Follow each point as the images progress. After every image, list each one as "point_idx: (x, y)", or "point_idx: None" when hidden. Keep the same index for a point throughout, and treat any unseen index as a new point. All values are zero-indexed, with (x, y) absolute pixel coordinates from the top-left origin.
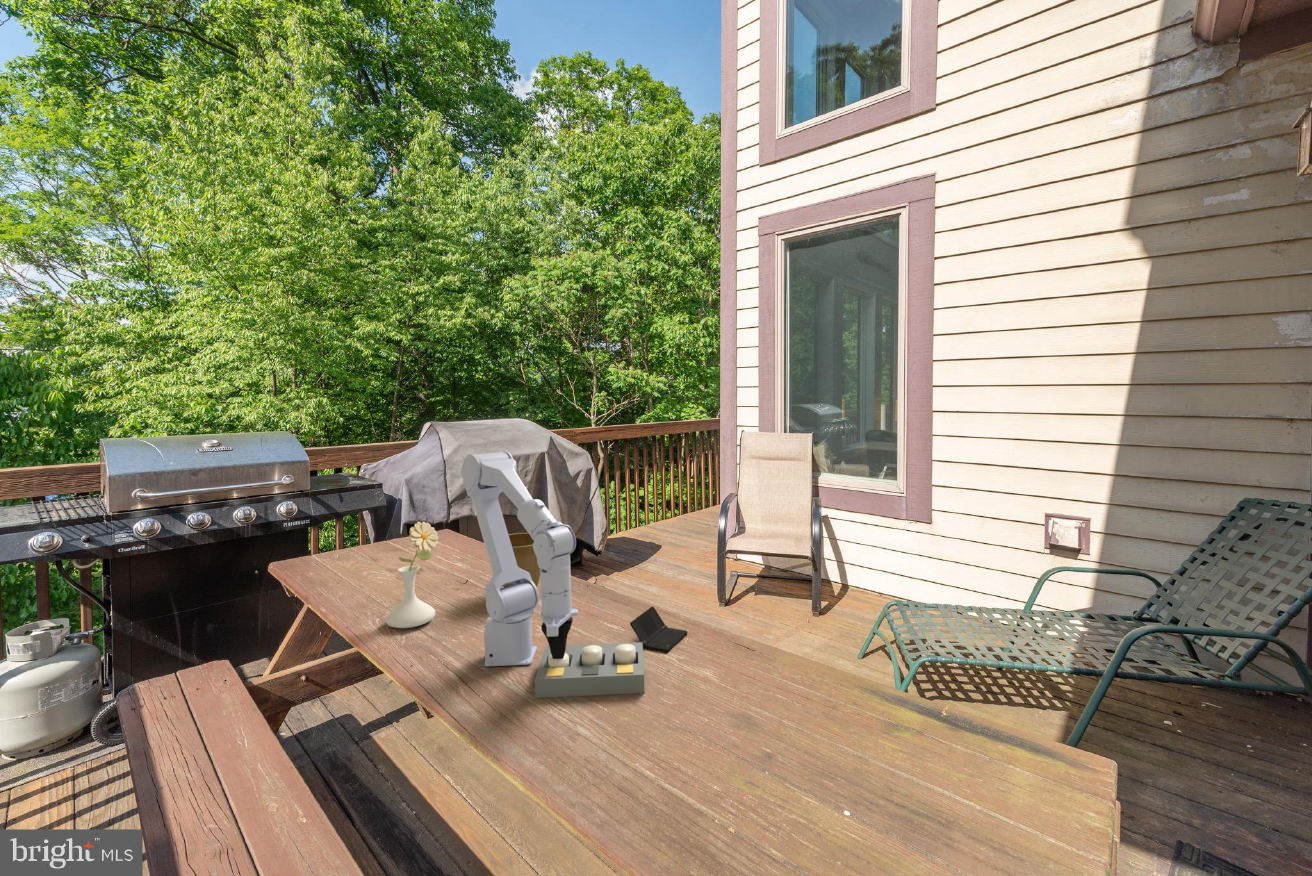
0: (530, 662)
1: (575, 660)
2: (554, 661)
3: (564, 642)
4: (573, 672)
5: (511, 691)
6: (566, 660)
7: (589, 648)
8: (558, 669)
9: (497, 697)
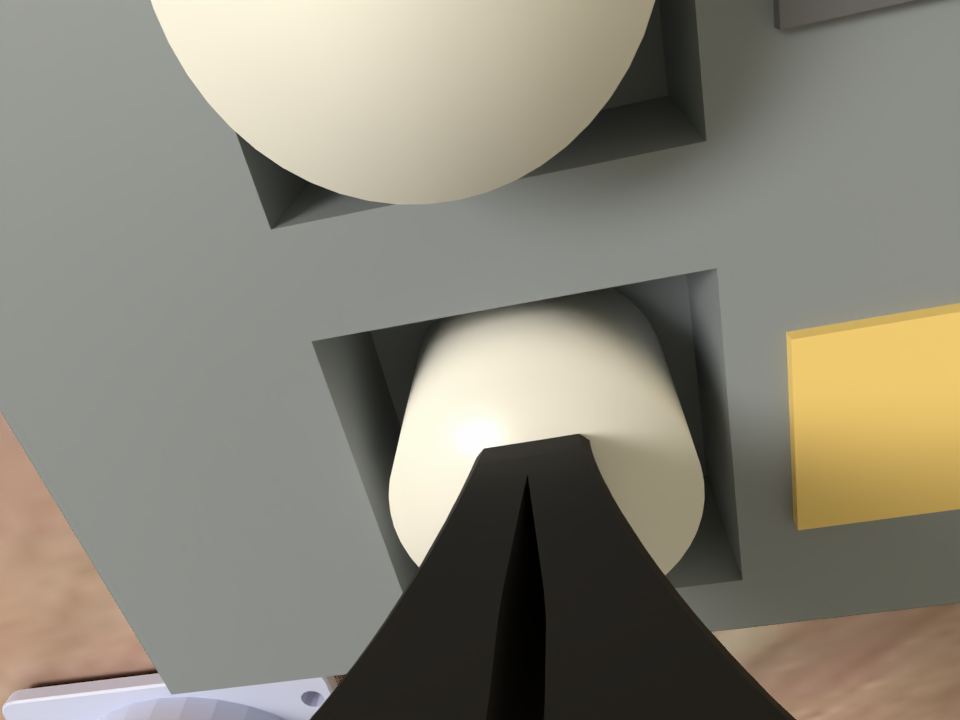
0: None
1: (501, 245)
2: (689, 520)
3: (705, 632)
4: (951, 151)
5: (795, 647)
6: (610, 372)
7: (338, 33)
8: (853, 402)
9: (888, 702)
